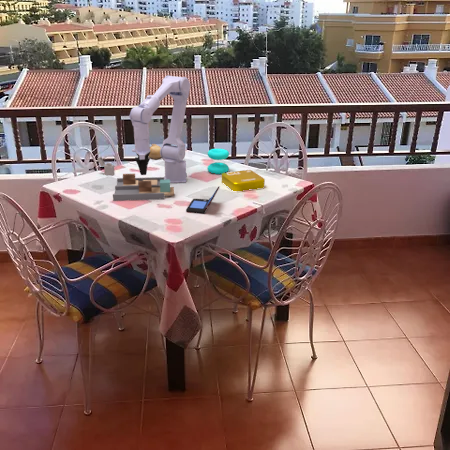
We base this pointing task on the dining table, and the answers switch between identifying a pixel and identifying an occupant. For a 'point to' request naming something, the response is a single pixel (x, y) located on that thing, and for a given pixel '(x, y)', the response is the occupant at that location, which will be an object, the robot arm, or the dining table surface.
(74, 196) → the dining table surface
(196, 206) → the handheld game console
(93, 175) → the dining table surface
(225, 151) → the donuts
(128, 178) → the broken strip front
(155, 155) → the onion
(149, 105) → the robot arm
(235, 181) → the element tile
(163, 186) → the teal cube
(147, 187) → the oak strip
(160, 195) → the slate board
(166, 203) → the dining table surface
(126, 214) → the dining table surface
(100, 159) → the lighter
